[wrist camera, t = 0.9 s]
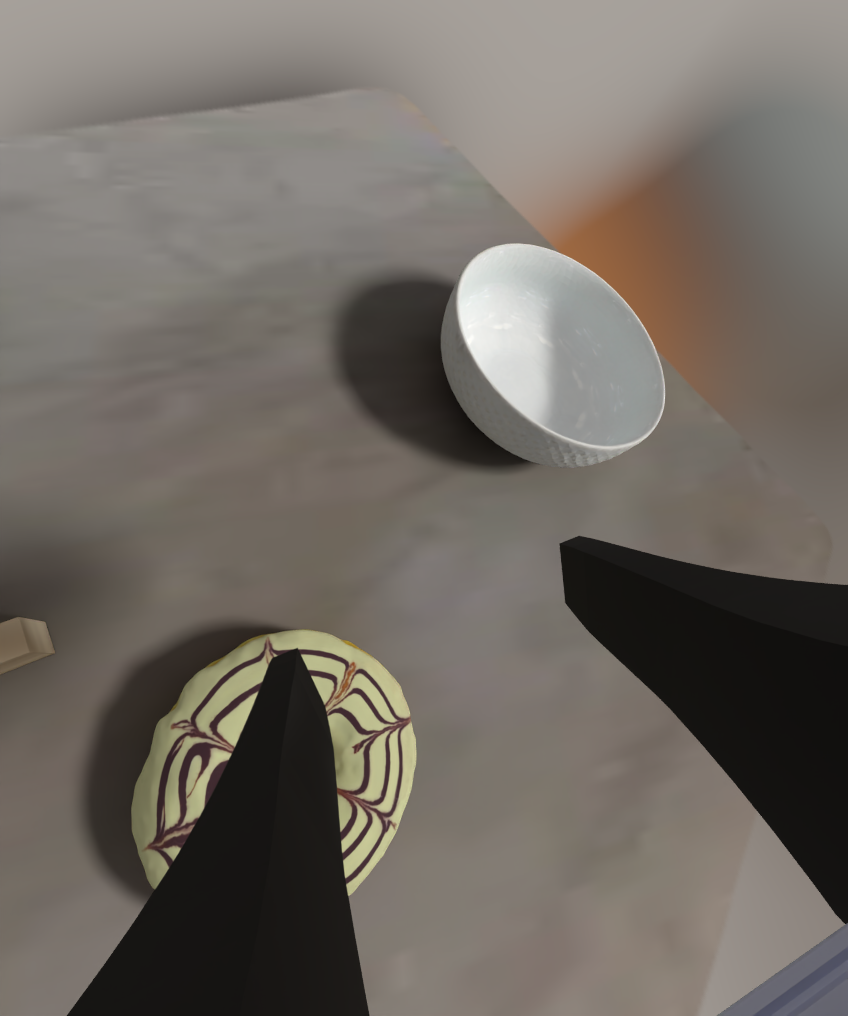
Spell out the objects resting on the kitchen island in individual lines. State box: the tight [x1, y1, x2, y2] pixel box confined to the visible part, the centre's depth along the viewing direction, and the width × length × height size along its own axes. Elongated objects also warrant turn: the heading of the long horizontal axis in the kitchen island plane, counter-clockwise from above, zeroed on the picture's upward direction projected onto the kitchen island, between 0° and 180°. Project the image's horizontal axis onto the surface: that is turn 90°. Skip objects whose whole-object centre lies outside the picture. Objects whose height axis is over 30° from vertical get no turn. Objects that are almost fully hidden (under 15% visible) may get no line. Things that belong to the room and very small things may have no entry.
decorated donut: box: [131, 629, 416, 896], centre depth 19 cm, size 11×12×4 cm
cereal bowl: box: [441, 244, 665, 468], centre depth 31 cm, size 17×17×7 cm
